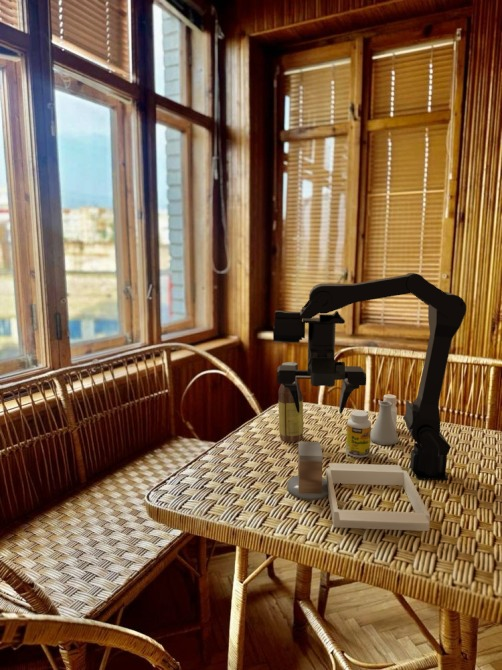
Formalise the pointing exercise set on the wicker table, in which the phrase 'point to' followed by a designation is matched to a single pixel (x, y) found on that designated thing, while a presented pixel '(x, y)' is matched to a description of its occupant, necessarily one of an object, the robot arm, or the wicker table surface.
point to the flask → (384, 426)
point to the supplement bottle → (358, 434)
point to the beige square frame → (375, 519)
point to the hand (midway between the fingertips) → (319, 412)
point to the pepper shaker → (392, 407)
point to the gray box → (310, 467)
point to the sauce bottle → (290, 413)
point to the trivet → (294, 490)
